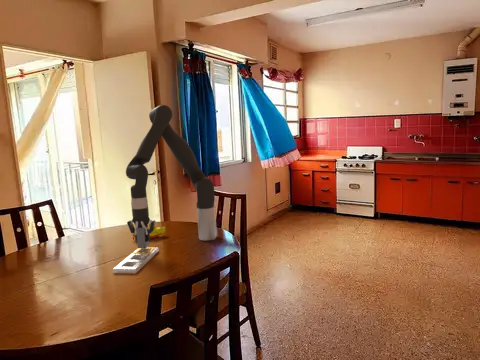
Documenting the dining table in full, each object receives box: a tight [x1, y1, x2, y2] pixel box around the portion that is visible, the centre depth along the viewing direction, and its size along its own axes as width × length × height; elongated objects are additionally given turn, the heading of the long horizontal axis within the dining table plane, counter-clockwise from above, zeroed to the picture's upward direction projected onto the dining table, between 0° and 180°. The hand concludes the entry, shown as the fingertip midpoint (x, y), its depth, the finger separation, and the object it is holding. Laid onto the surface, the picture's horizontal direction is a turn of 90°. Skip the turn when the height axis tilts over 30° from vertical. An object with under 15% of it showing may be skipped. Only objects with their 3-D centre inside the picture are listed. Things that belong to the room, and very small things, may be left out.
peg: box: [136, 226, 150, 249], centre depth 166 cm, size 4×4×10 cm
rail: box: [112, 246, 159, 275], centre depth 159 cm, size 10×26×2 cm, turn 172°
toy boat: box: [132, 223, 166, 242], centre depth 192 cm, size 6×18×10 cm, turn 115°
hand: (143, 241), depth 166 cm, fingers closed on peg, 4 cm apart
